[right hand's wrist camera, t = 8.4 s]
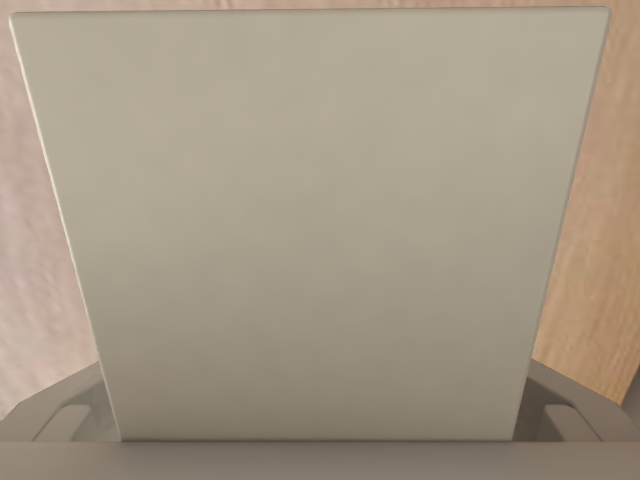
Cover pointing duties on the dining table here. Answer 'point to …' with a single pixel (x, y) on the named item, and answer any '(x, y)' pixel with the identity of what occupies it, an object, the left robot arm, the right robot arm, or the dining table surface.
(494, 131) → the cream rectangular bar
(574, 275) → the dining table surface
